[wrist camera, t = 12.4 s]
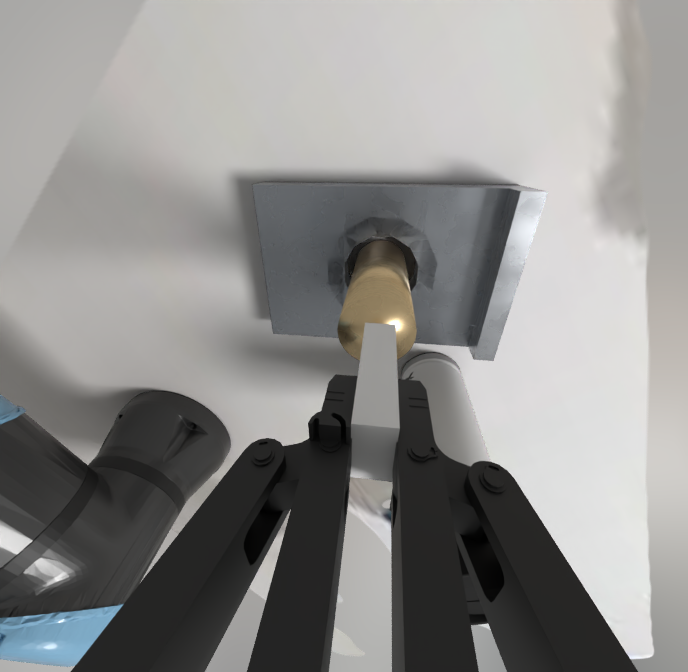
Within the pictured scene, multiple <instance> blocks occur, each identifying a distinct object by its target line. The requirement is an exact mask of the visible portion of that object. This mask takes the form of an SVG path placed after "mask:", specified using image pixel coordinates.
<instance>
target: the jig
mask: <svg viewBox="0 0 688 672" xmlns="http://www.w3.org/2000/svg"><path fill="white" fill-rule="evenodd" d="M252 187H253V194H254V201H255V208H256V215H257V222H258V230H259V237H260V244H261V251H262V258H263V265H264V272H265V279H266V287H267V294H268V301H269V308H270V315H271V322H272V329H273V333H274V334H288V335H303V336H318V337H333V338H339V337H338V331H337V329H338V322H339V318H340V315H341V312H342V308H343V305H344V301H345V298H346V294H347V291H348V288H349V284H350V281H351V276H350V275H349V273H348V257H349V255H350V253H351V252H352V250H353V248H354V247H355V246H356V245H358V244H360V243H362V242H363V241H365V240H367V239H369V238H371V237H373V236H375V237H394V238H396V239H397V240H399V241H400V242H402V243H403V244H405V245H406V246H408V247H410V248H411V250H412V252H413V255H414V257H415V259H416V262H415V270H414V275H413V276H412V278H411V279H410V280H409V286H410V292H411V298H412V304H413V309H414V315H415V321H416V329H417V332H416V339H415V341H414V343H422V344H437V345H451V346H466V347H469V349H470V352H471V354H472V356H473V359H475V360H489V361H493V360H494V357H495V354H496V351H497V348H498V345H499V342H500V339H501V335H502V332H503V329H504V326H505V323H506V320H507V317H508V314H509V311H510V308H511V305H512V302H513V298H514V295H515V292H516V289H517V286H518V283H519V280H520V277H521V274H522V271H523V268H524V265H525V261H526V258H527V255H528V252H529V249H530V246H531V243H532V240H533V237H534V234H535V231H536V228H537V224H538V221H539V218H540V215H541V212H542V209H543V206H544V203H545V200H546V197H547V194H548V192H547V191H543V190H538V189H534V188H530V187H526V186H521V185H457V184H383V183H309V182H261V183H257V184H252Z"/></svg>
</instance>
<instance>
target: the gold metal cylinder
mask: <svg viewBox="0 0 688 672" xmlns="http://www.w3.org/2000/svg"><path fill="white" fill-rule="evenodd" d="M365 323H380V324H396V347H397V360H398V359H399V358H401V357H402V356H404V355H405V354H406V353H407V352H408V351H409V350H410V349H411V347H412V346H413V344H414V341H415V339H416V332H417V329H416V321H415V315H414V309H413V304H412V298H411V292H410V286H409V280H408V274H407V268H406V262H405V257H404V254H403V252H402V250H401V249H400V248H399V247H398V246H397V245H396V244H394V243H392V242H390V241H386V240H377V241H373V242H370V243H369V244H367V245H366V246H364V247H363V248H362V250H361V251H360V253H359V254H358V257H357V260H356V264H355V267H354V270H353V274H352V277H351V281H350V284H349V288H348V291H347V294H346V298H345V301H344V305H343V308H342V312H341V315H340V318H339V322H338V329H337V331H338V337H339V340H340V343H341V345H342V346H343V348H344V349H345V350H346V351H347V352H348V353H349V354H350V355H351V356H353V357H354V358H356V359H358V360H360V356H361V349H362V342H363V335H364V327H365Z"/></svg>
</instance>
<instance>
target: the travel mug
mask: <svg viewBox="0 0 688 672" xmlns="http://www.w3.org/2000/svg"><path fill="white" fill-rule="evenodd" d="M401 379H404V380H416V381H421V383H422V384H423V386H424V387H425V388H426V390H427V396H428V402H429V409H430V415H431V421H432V427H433V434H434V439H435V442H436V445H437V446H438V448H439V449H440V450H441V451H442V452H443V453H444V454H445V455H446V456H448V457H449V458H451V459H453V460H455V461H458V462H460V463H463V464H465V465H468V466H470V467H471V465H472V464H473V463H475V462H479V461H490V462H491V460H490V457H489V454H488V451H487V448H486V445H485V442H484V439H483V436H482V433H481V430H480V427H479V424H478V421H477V418H476V415H475V412H474V409H473V406H472V403H471V401H470V398H469V395H468V392H467V389H466V386H465V383H464V380H463V377H462V374H461V371H460V368H459V366H458V365H457V363H456V362H455V361H454V360H452V359H451V358H449V357H447V356H445V355H442V354H437V353H427V354H422V355H419V356H416V357H415V358H413V359H411V360H410V361H409V362H408V363H407V364H406V365H405V366H404V368H403V370H402V373H401ZM456 542H457V541H456ZM457 548H458V554H459V560H460V566H461V572H462V577H463V583H464V589H465V595H466V601H467V607H468V612H469V618H470V624H471V625H478V624H486V623H488V621H487V619H486V616H485V613H484V611H483V608H482V606H481V603H480V601H479V598H478V595H477V593H476V590H475V588H474V585H473V583H472V580H471V577H470V575H469V572H468V570H467V567H466V565H465V562H464V559H463V557H462V554H461V552H460V549H459V547H458V544H457Z"/></svg>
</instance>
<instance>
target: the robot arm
mask: <svg viewBox="0 0 688 672" xmlns="http://www.w3.org/2000/svg"><path fill="white" fill-rule="evenodd" d="M25 412H26V410H25V409H24V408H23V407H20V406H15V405H14V404H13V403H11V402H10V401H9V400H7V399H6V398H5V397H3V396H2V395H1V394H0V659H3V660H10V661H18V662H26V663H35V664H43V665H53V666H66V667H68V666H69V667H70V666H75V665H76V666H75V667H74V668H73V670H72V671H71V672H205V670H206V668H207V666H208V664H209V662H210V661H211V658H212V657H213V655H214V653H215V651H216V649H217V647H218V645H219V643H220V642H221V640H222V638H223V636H224V634H225V632H226V630H227V628H228V626H229V624H230V623H231V621H232V619H233V617H234V615H235V613H236V611H237V609H238V607H239V605H240V604H241V602H242V600H243V598H244V596H245V594H246V592H247V590H248V588H249V586H250V585H251V583H252V581H253V579H254V577H255V575H256V573H257V571H258V569H259V567H260V566H261V564H262V562H263V560H264V558H265V556H266V554H267V552H268V550H269V549H270V547H271V545H272V543H273V541H274V539H275V537H276V535H277V533H278V531H279V530H280V528H281V526H282V524H283V522H284V520H285V518H286V516H287V514H288V512H289V511H290V509H291V512H290V516H289V519H288V523H287V526H286V530H285V534H284V537H283V541H282V545H281V548H280V552H279V556H278V560H277V563H276V567H275V571H274V574H273V578H272V582H271V585H270V589H269V593H268V596H267V600H266V604H265V608H264V611H263V615H262V618H261V622H260V626H259V630H258V633H257V637H256V641H255V644H254V648H253V652H252V655H251V659H250V663H249V666H248V670H247V672H329V664H330V656H331V647H332V638H333V630H334V620H335V611H336V603H337V594H338V586H339V576H340V568H341V559H342V551H343V542H344V533H345V524H346V515H347V507H348V498H349V482H350V477H356V478H364V479H373V480H381V481H389V482H392V479H393V490H392V497H391V503H390V511H391V537H392V672H479V671H478V665H477V659H476V653H475V647H474V642H473V636H472V630H471V624H470V618H469V612H468V607H467V601H466V595H465V589H464V583H463V577H462V572H461V566H460V560H459V554H458V548H457V544H458V547H459V549H460V552H461V554H462V557H463V559H464V562H465V565H466V567H467V570H468V572H469V575H470V577H471V580H472V583H473V585H474V588H475V590H476V593H477V595H478V598H479V601H480V603H481V606H482V608H483V611H484V613H485V616H486V619H487V621H488V624H489V626H490V629H491V631H492V634H493V637H494V639H495V642H496V644H497V647H498V649H499V652H500V655H501V657H502V660H503V662H504V665H505V667H506V670H507V672H638V671H637V669H636V668H635V666H634V665H633V663H632V661H631V660H630V658H629V657H628V655H627V654H626V652H625V651H624V649H623V647H622V646H621V644H620V643H619V641H618V640H617V638H616V637H615V635H614V633H613V632H612V630H611V629H610V627H609V626H608V624H607V623H606V621H605V619H604V618H603V616H602V615H601V613H600V612H599V610H598V609H597V607H596V605H595V604H594V602H593V601H592V599H591V598H590V596H589V594H588V593H587V591H586V590H585V588H584V587H583V585H582V584H581V582H580V580H579V579H578V577H577V576H576V574H575V573H574V571H573V570H572V568H571V566H570V565H569V563H568V562H567V560H566V559H565V557H564V556H563V554H562V552H561V551H560V549H559V548H558V546H557V545H556V543H555V541H554V540H553V538H552V537H551V535H550V534H549V532H548V531H547V529H546V527H545V526H544V524H543V523H542V521H541V520H540V518H539V517H538V515H537V513H536V512H535V510H534V509H533V507H532V506H531V504H530V503H529V501H528V499H527V498H526V496H525V495H524V493H523V492H522V490H521V488H520V487H519V485H518V484H517V482H516V481H515V479H514V478H513V477H512V476H511V474H510V473H509V472H508V471H507V470H505V469H504V468H503V467H501V466H500V465H498V464H495V463H492V462H490V461H479V462H475V463H473V464H472V465H471V467H470V466H468V465H465V464H463V463H460V462H458V461H455V460H453V459H451V458H449V457H448V456H446V455H445V454H444V453H443V452H442V451H441V450H440V449H439V448H438V446H437V445H436V442H435V439H434V434H433V427H432V421H431V415H430V409H429V402H428V396H427V390H426V388H425V387H424V386H423V384H422V383H421V381H416V380H404V379H398V372H397V347H396V324H380V323H365V327H364V335H363V342H362V349H361V356H360V363H359V370H358V376H347V375H335V376H334V377H333V378H332V379H331V380H330V381H329V384H328V388H327V393H326V395H325V400H324V403H323V407H322V411H321V412H318V413H316V414H315V415H314V416H312V417H311V419H310V421H309V423H308V427H309V439H308V440H306V441H304V442H302V443H298V444H294V445H288V446H282V444H281V443H280V442H279V441H277V440H275V439H269V438H266V439H260V440H257V441H255V442H253V443H252V444H250V445H249V446H248V447H247V448H246V449H245V450H244V452H243V453H242V454H241V455H240V457H239V458H238V459H237V461H236V462H235V463H234V464H233V466H232V467H231V468H230V469H229V471H228V472H227V473H226V475H225V476H224V477H223V478H222V480H221V481H220V482H219V483H218V485H217V486H216V487H215V489H214V490H213V491H212V492H211V494H210V495H209V496H208V497H207V499H206V500H205V501H204V503H203V504H202V505H201V506H200V508H199V509H198V510H197V511H196V513H195V514H194V515H193V517H192V518H191V519H190V520H189V522H188V523H187V524H186V525H185V527H184V528H183V529H182V531H181V532H180V533H179V534H178V536H177V537H176V538H175V540H174V541H173V542H172V543H171V545H170V546H169V547H168V549H167V550H166V551H165V553H164V554H163V555H162V556H161V557H160V559H159V560H158V561H157V563H156V564H155V565H154V566H153V568H152V569H151V570H150V572H149V573H148V574H147V575H146V576H145V578H144V579H143V580H142V578H143V576H144V575H145V573H146V571H147V570H148V568H149V566H150V564H151V563H152V560H153V559H154V557H155V556H156V554H157V552H158V550H159V548H160V547H161V545H162V543H163V541H164V539H165V538H166V536H167V534H168V533H169V530H170V529H171V527H172V526H173V524H174V522H175V520H176V519H177V517H178V515H179V513H180V512H181V510H182V508H183V506H184V505H185V503H186V501H187V500H188V499H189V498H190V497H191V496H192V495H193V494H194V493H195V492H196V491H197V490H198V489H199V488H200V487H201V486H202V485H203V484H204V483H205V482H206V481H207V480H208V479H209V478H210V477H211V476H212V475H213V474H214V473H215V472H216V471H217V470H218V469H219V468H220V467H221V465H222V464H223V462H224V460H225V458H226V456H227V455H228V453H229V450H230V446H231V442H230V437H229V434H228V432H227V430H226V428H225V426H224V425H223V423H222V422H221V421H220V420H219V419H218V418H217V417H216V416H215V415H214V414H213V413H212V412H211V411H209V410H208V409H207V408H205V407H204V406H202V405H201V404H199V403H197V402H195V401H193V400H191V399H189V398H187V397H184V396H181V395H178V394H174V393H169V392H162V391H152V392H146V393H142V394H140V395H138V396H136V397H135V398H133V399H132V400H131V401H130V402H129V403H128V404H127V405H126V406H125V407H124V408H123V409H122V410H121V411H120V413H119V414H118V416H117V418H116V420H115V424H114V426H113V427H112V429H111V430H110V432H109V434H108V435H107V437H106V439H105V441H104V443H103V445H102V447H101V449H100V451H99V453H98V455H97V456H96V457H95V458H94V459H93V460H92V462H91V463H90V464H89V465H87V464H86V463H84V462H83V461H82V460H80V459H79V458H78V457H77V456H76V455H74V454H73V453H72V452H71V451H70V450H68V449H67V448H66V447H65V446H64V445H62V444H61V443H60V442H59V441H58V440H56V439H55V438H54V437H53V436H52V435H50V434H49V433H48V432H47V431H46V430H44V429H43V428H42V427H41V426H40V425H38V424H37V423H36V422H35V421H34V420H32V419H31V418H30V417H29V416H28V415H26V414H25ZM456 541H457V542H456ZM141 580H142V582H141ZM140 582H141V583H140Z"/></svg>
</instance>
